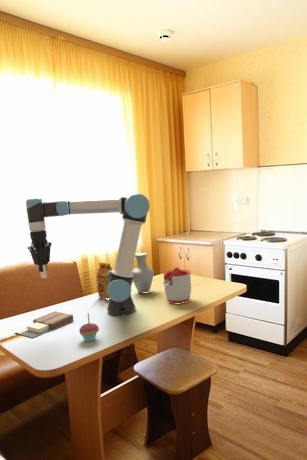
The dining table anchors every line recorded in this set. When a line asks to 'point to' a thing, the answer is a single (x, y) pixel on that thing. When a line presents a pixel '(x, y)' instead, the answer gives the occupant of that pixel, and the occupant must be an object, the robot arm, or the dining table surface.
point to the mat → (33, 333)
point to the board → (55, 319)
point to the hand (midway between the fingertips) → (44, 277)
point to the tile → (38, 327)
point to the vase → (142, 273)
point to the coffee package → (103, 279)
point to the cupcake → (89, 331)
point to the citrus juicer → (177, 285)
